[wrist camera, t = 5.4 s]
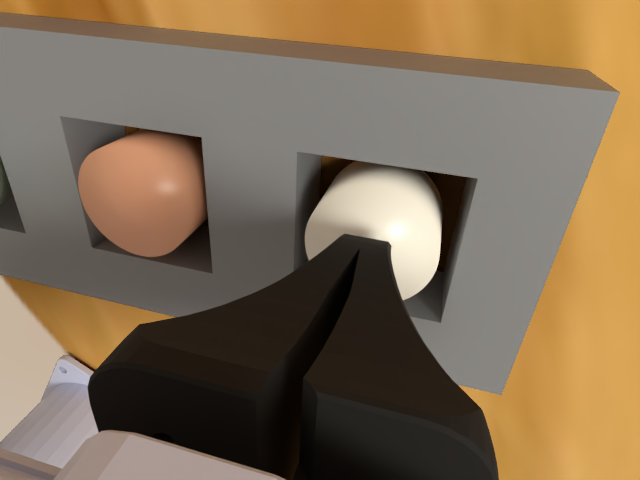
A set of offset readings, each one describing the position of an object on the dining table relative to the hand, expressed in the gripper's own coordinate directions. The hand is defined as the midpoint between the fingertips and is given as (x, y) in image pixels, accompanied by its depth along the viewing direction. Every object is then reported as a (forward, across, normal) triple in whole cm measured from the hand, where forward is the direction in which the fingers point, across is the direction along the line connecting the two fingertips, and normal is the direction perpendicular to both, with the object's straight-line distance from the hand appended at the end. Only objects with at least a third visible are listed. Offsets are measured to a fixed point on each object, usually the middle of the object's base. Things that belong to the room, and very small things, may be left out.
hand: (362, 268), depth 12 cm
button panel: (+4, +8, 0) cm, 9 cm away
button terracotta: (+4, +8, 0) cm, 9 cm away
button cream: (+4, 0, 0) cm, 4 cm away
